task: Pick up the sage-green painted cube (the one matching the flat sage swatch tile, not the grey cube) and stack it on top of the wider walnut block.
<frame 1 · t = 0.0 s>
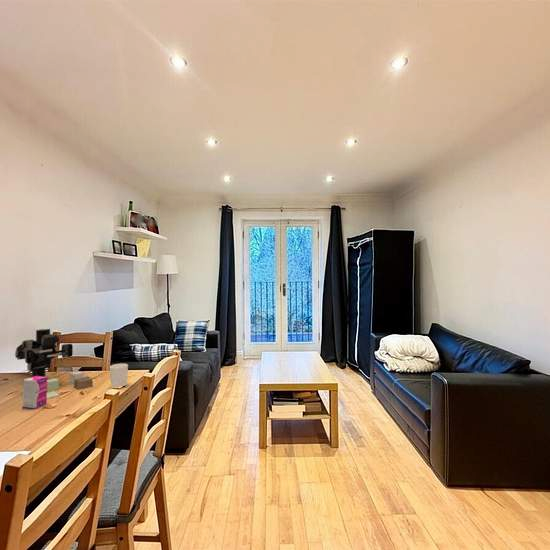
hand: (55, 355, 150), 17 cm above the table, tool horizontal, fingers open, 9 cm apart
grey block: (76, 381, 165), on the table
supplement box: (35, 406, 134), on the table
walnut base: (83, 387, 158), on the table
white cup: (118, 387, 158), on the table
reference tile: (48, 396, 145), on the table
sage block: (51, 389, 154), on the table
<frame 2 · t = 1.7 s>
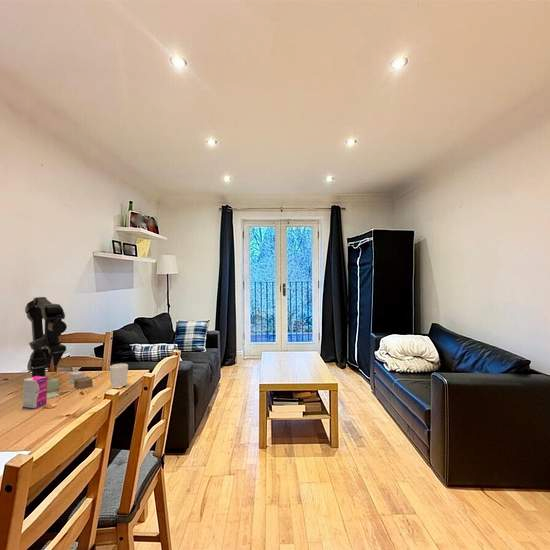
hand: (51, 364, 154), 11 cm above the table, tool pointing down, fingers open, 9 cm apart
nothing on the table moved.
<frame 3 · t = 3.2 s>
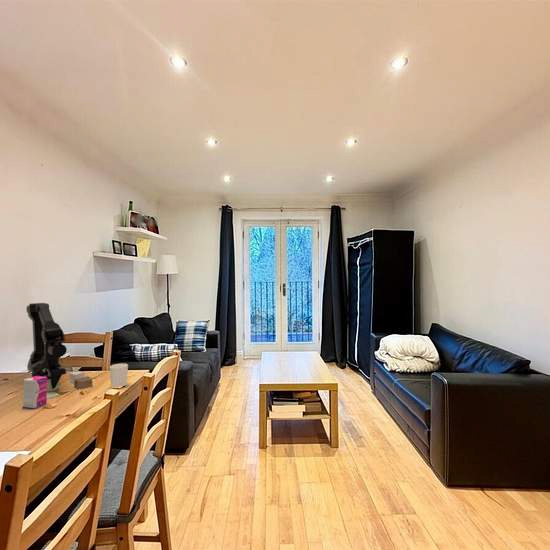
hand: (51, 387, 154), 1 cm above the table, tool pointing down, fingers closed on sage block, 4 cm apart
sage block: (51, 389, 154), on the table, touching gripper
everything else where it was.
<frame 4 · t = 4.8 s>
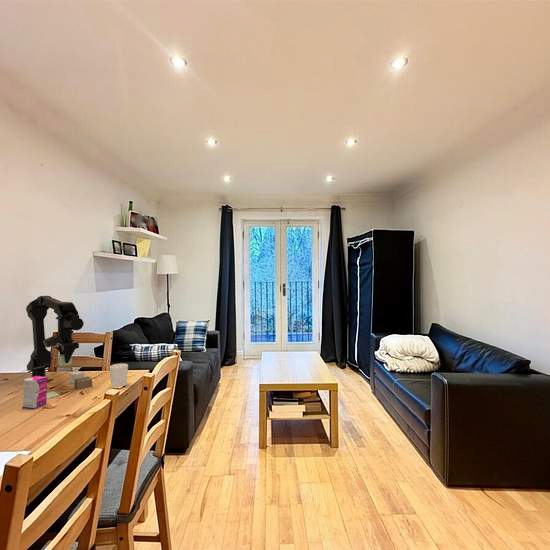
hand: (65, 362, 155), 12 cm above the table, tool pointing down, fingers closed on sage block, 4 cm apart
sage block: (64, 364, 155), point 11 cm above the table, touching gripper
everything else where it was.
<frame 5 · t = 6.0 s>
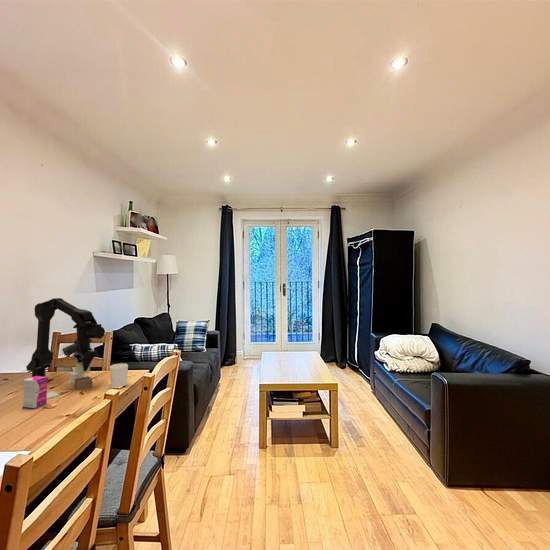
hand: (83, 370, 158), 8 cm above the table, tool pointing down, fingers closed on sage block, 4 cm apart
sage block: (83, 372, 158), point 7 cm above the table, touching gripper
everything else where it was.
when the fingers open (6 cm above the table, at t = 6.6 s): sage block drops 2 cm, point 4 cm above the table.
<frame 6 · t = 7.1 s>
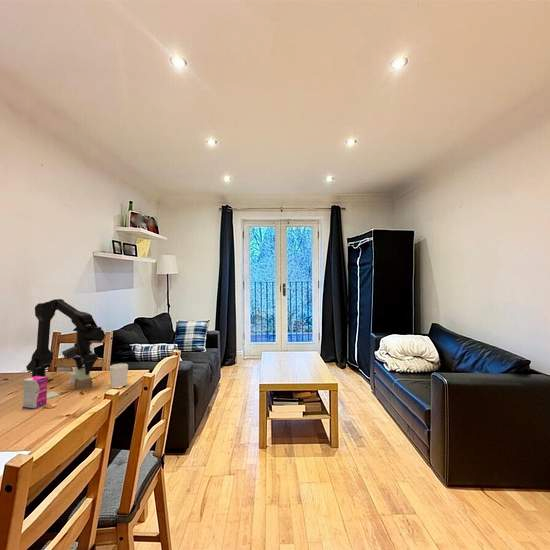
hand: (83, 373, 158), 6 cm above the table, tool pointing down, fingers open, 9 cm apart
sage block: (82, 378, 158), point 4 cm above the table
everything else where it was.
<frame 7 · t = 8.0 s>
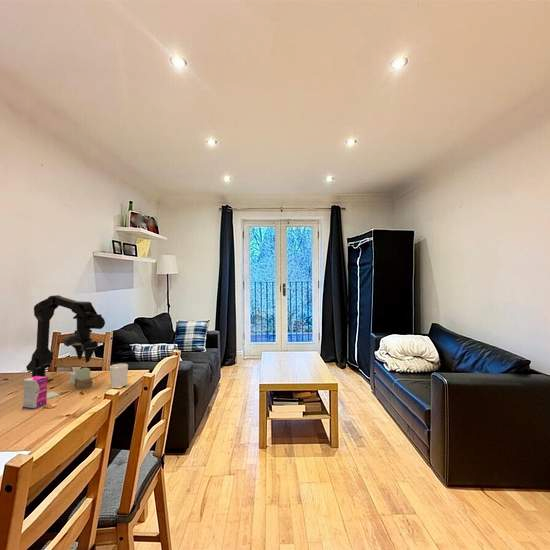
hand: (83, 360, 158), 12 cm above the table, tool pointing down, fingers open, 9 cm apart
nothing on the table moved.
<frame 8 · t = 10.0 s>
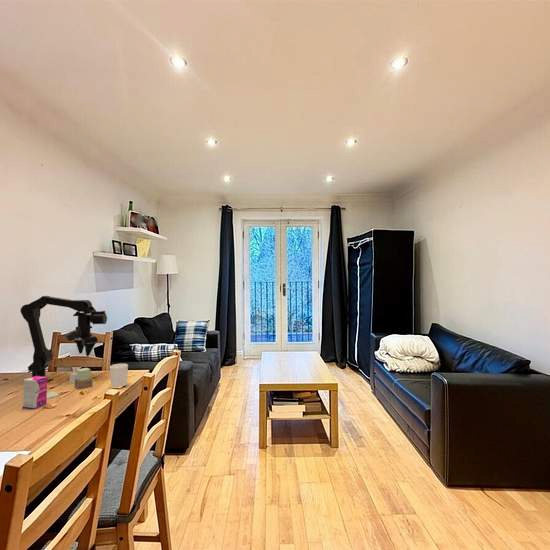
hand: (84, 354, 170), 13 cm above the table, tool pointing down, fingers open, 9 cm apart
walnut base: (83, 387, 158), on the table, touching sage block
sage block: (83, 378, 158), point 4 cm above the table, touching walnut base
everything else where it was.
at the end: sage block 0.1 cm off-centre on the walnut base, point 4.0 cm above the walnut base's base; sage block tilted 0°; the gripper is holding nothing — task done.
